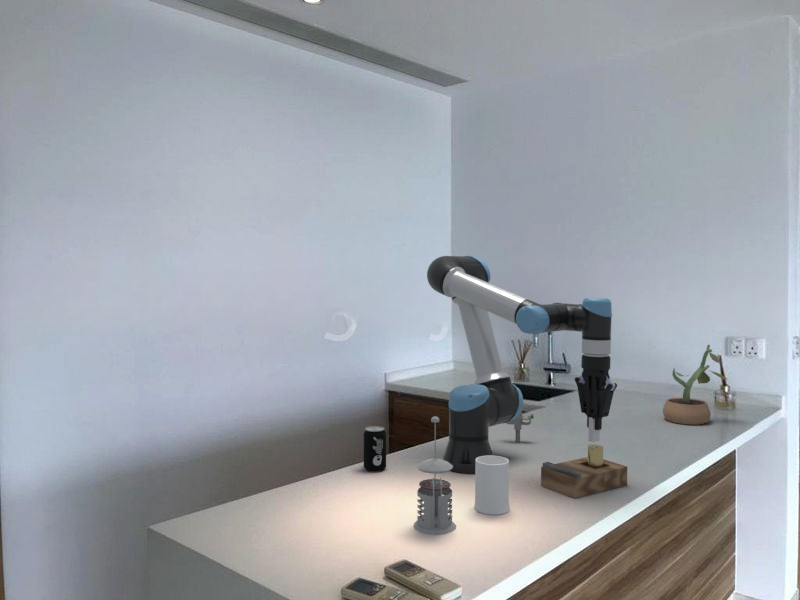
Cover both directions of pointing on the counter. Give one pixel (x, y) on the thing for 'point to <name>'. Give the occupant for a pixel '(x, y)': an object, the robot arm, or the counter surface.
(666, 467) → the counter surface
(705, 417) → the potted plant
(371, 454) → the beverage can
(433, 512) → the french press
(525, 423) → the mechanical component
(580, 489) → the jig
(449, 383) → the counter surface
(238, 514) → the counter surface
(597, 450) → the brass cylinder
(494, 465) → the mug
